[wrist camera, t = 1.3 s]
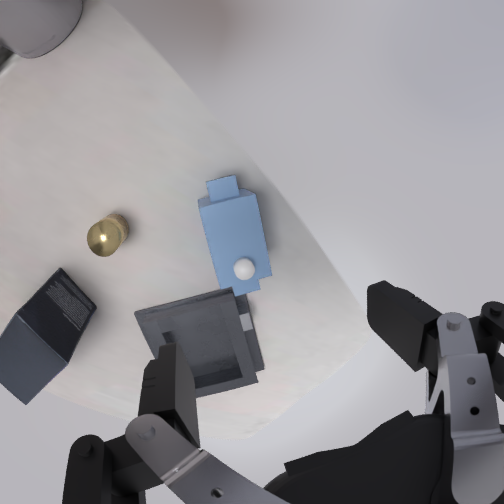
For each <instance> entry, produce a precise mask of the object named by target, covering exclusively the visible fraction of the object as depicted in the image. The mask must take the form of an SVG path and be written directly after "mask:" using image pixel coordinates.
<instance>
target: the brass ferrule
mask: <svg viewBox="0 0 504 504" xmlns="http://www.w3.org/2000/svg"><path fill="white" fill-rule="evenodd" d="M127 235H128V224H127V222H126V220H125V219H124V218H123V217H121V216H120V215H117V214H111V215H108V216H107V217H105V218H103V219H102V220H100V221H99V222H97V223H96V224H94V225H93V226H92V227H91V228H90V230H89V232H88V235H87V242H88V245H89V247H90V249H91V250H92V252H93V253H95V254H96V255H98V256H102V257H106V256H110V255H112V254H113V253H114V252H115V251H116V250H117V249H118V247H119V246H120V245H121V244H122V243H123V241H124V240H125V239H126V237H127Z"/></svg>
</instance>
